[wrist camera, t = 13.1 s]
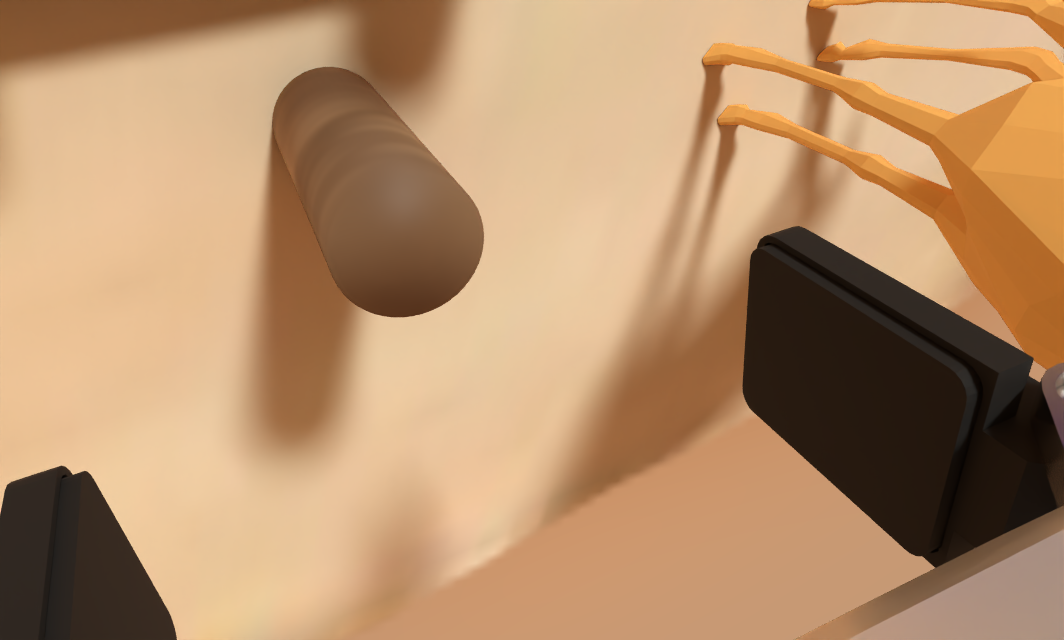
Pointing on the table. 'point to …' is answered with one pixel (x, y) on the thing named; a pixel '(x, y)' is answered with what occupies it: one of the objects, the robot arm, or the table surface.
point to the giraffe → (963, 162)
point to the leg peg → (375, 196)
